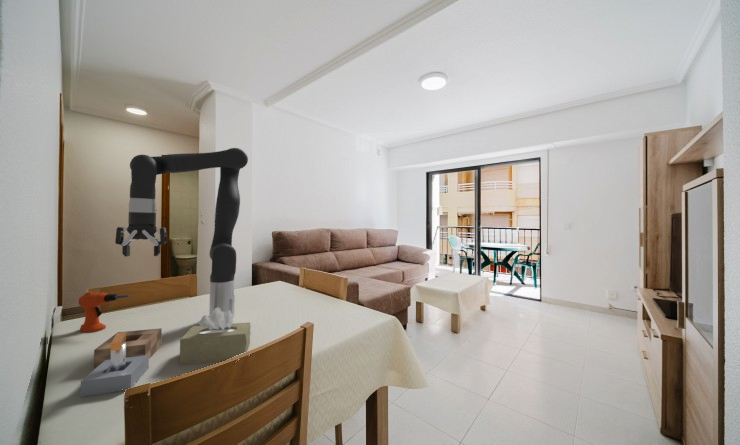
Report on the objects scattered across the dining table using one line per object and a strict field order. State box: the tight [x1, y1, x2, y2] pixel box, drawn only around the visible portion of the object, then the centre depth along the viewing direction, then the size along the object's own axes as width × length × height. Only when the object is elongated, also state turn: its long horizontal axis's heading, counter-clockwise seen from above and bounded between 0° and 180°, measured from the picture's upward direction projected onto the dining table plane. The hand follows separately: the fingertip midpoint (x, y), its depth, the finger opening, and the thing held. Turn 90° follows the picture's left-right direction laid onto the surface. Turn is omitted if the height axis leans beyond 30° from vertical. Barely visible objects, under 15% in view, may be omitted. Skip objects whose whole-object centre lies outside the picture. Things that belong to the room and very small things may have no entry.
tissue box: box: [179, 308, 251, 366], centre depth 87 cm, size 19×10×16 cm, turn 106°
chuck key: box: [110, 331, 126, 372], centre depth 71 cm, size 7×3×12 cm, turn 35°
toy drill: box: [77, 291, 130, 333], centre depth 101 cm, size 5×19×15 cm, turn 91°
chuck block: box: [93, 327, 163, 370], centre depth 83 cm, size 12×12×6 cm
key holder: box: [79, 355, 150, 398], centre depth 71 cm, size 10×10×4 cm
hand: (141, 256), depth 95 cm, fingers open, 8 cm apart
